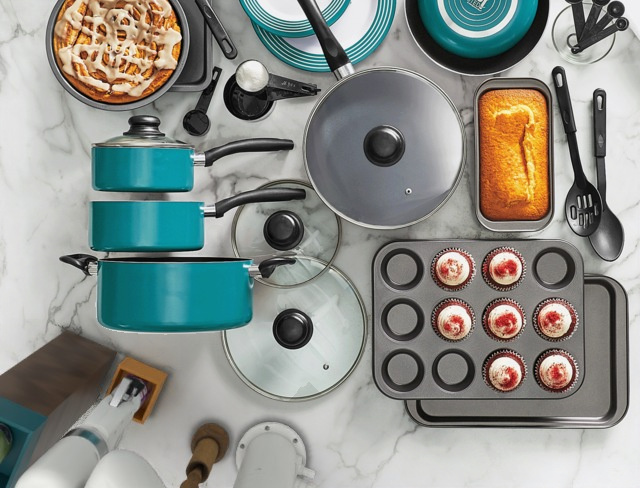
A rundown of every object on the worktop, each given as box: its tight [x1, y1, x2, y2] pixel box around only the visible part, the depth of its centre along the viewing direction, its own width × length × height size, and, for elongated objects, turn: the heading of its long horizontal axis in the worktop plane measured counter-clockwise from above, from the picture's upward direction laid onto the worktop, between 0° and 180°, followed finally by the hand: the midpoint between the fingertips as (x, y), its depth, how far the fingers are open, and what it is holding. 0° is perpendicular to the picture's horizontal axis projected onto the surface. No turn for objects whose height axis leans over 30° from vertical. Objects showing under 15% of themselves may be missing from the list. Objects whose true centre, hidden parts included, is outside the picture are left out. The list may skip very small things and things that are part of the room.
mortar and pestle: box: [179, 422, 230, 488], centre depth 113 cm, size 7×6×18 cm
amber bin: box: [104, 356, 169, 425], centre depth 120 cm, size 8×8×4 cm
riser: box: [0, 329, 118, 472], centre depth 108 cm, size 10×10×28 cm
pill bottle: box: [111, 374, 152, 412], centre depth 117 cm, size 5×5×10 cm
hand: (125, 409), depth 113 cm, fingers open, 9 cm apart
